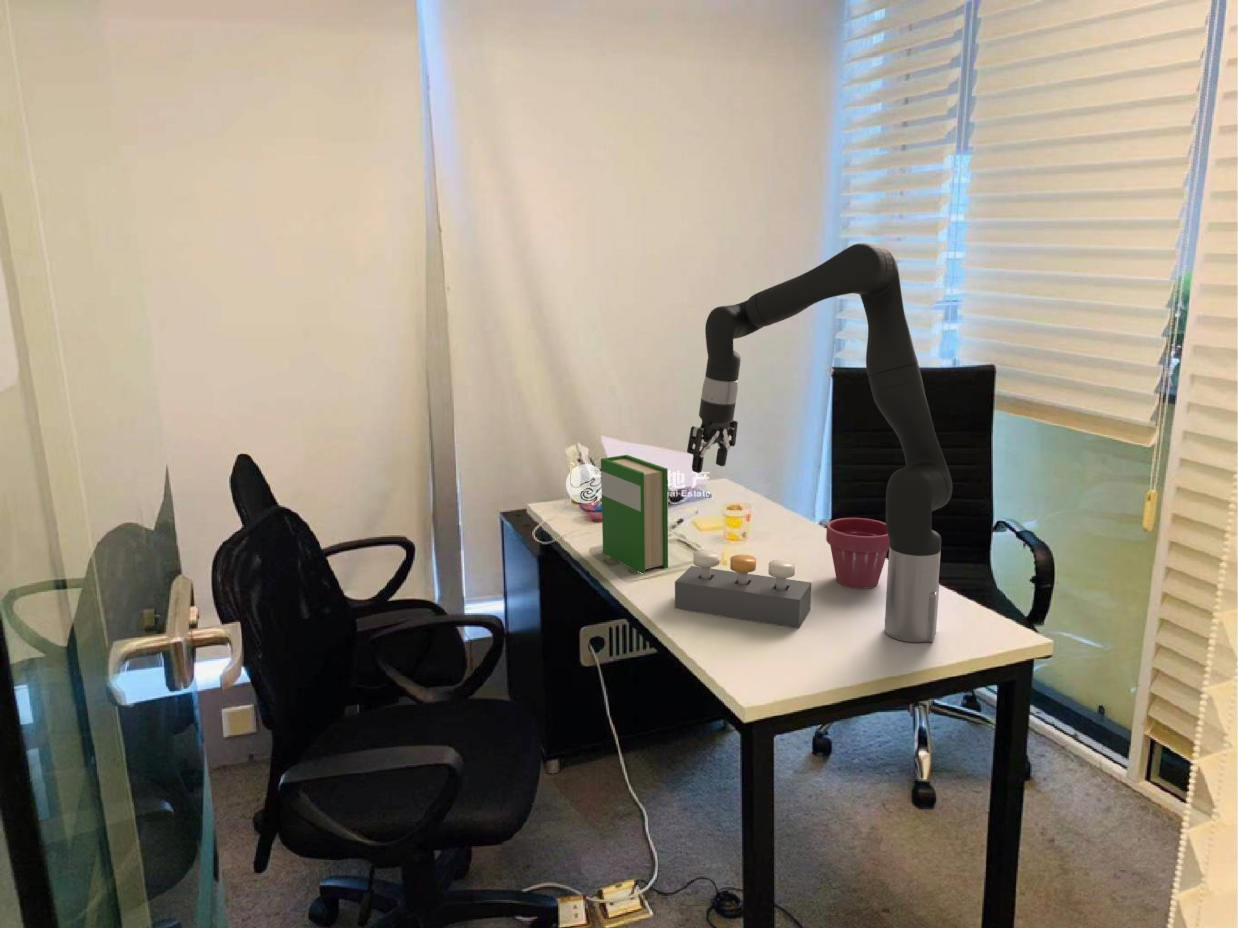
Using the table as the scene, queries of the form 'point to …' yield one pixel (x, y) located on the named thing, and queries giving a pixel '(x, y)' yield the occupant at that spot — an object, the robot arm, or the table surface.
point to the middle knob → (743, 567)
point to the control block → (743, 597)
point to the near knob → (781, 572)
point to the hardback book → (635, 512)
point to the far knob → (705, 562)
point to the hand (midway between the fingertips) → (708, 468)
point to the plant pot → (858, 550)
